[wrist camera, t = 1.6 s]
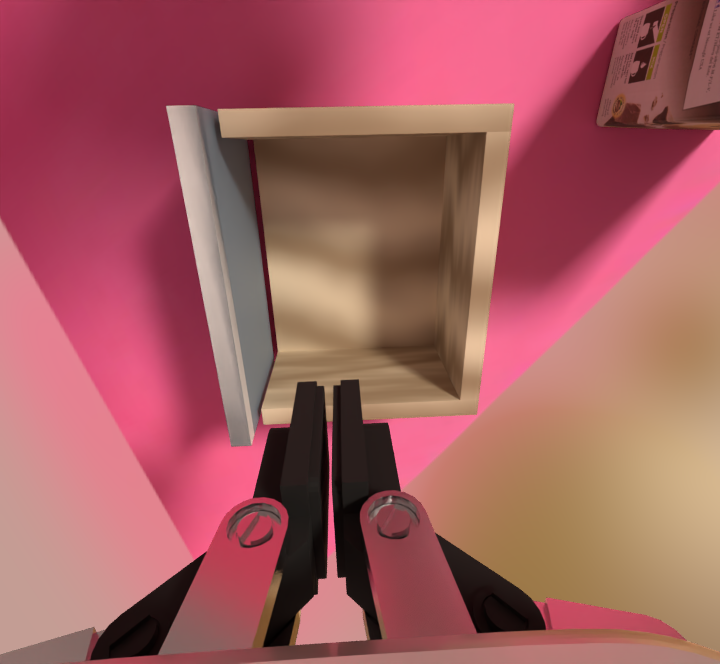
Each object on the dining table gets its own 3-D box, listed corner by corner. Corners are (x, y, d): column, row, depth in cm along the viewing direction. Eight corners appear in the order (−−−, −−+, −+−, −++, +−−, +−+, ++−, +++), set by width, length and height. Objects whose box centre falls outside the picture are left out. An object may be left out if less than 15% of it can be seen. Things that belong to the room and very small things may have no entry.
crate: (253, 120, 27) (217, 109, 19) (461, 116, 28) (514, 103, 19) (280, 358, 35) (263, 424, 26) (444, 351, 35) (476, 414, 27)
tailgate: (227, 120, 27) (166, 105, 17) (246, 119, 27) (195, 105, 17) (261, 361, 34) (231, 446, 25) (275, 361, 34) (251, 445, 25)
